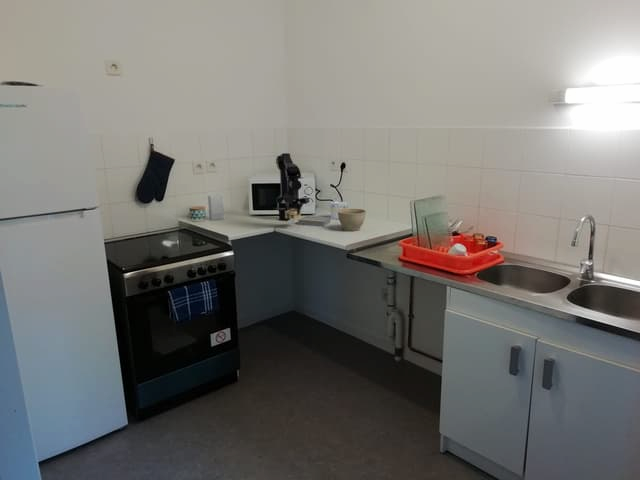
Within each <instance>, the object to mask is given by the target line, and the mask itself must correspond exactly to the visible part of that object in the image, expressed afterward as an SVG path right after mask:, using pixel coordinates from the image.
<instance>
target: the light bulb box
mask: <svg viewBox="0 0 640 480" xmlns="http://www.w3.org/2000/svg"><path fill="white" fill-rule="evenodd" d="M341 209H348V201H331V202H330V220H339V217H338V210H341Z"/></svg>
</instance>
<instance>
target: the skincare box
mask: <svg viewBox="0 0 640 480" xmlns="http://www.w3.org/2000/svg"><path fill="white" fill-rule="evenodd" d="M223 196H224V195H222V194H220V193H219V194H218V193H216V194H208V195H207V203H208V217H209V220H211V222H212V221H219V220H224V219H225V215H224V214H225V213H224V197H223Z"/></svg>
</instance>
